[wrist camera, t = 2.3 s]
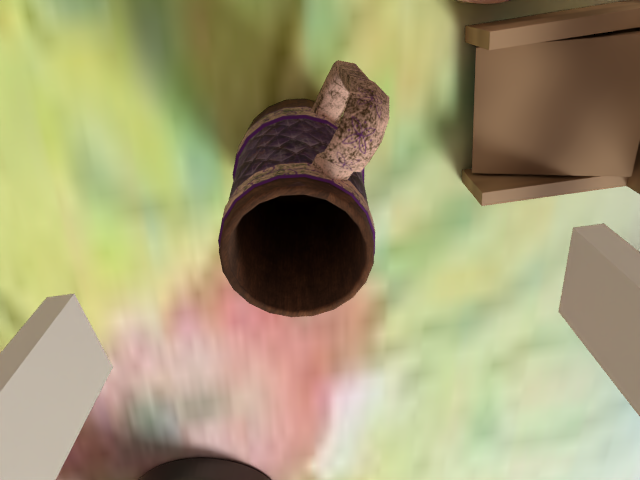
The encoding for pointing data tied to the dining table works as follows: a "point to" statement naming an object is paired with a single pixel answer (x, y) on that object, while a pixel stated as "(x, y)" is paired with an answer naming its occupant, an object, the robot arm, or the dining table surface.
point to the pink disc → (483, 1)
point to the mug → (305, 198)
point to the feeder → (556, 103)
